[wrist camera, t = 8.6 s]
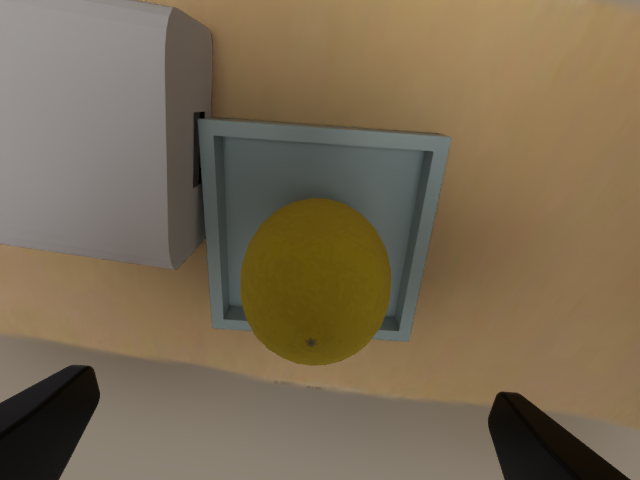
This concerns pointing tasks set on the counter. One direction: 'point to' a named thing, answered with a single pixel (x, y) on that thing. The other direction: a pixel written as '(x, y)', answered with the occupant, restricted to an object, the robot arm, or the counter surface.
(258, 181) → the tray
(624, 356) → the counter surface
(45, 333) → the counter surface
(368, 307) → the lemon
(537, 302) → the counter surface
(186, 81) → the charger
